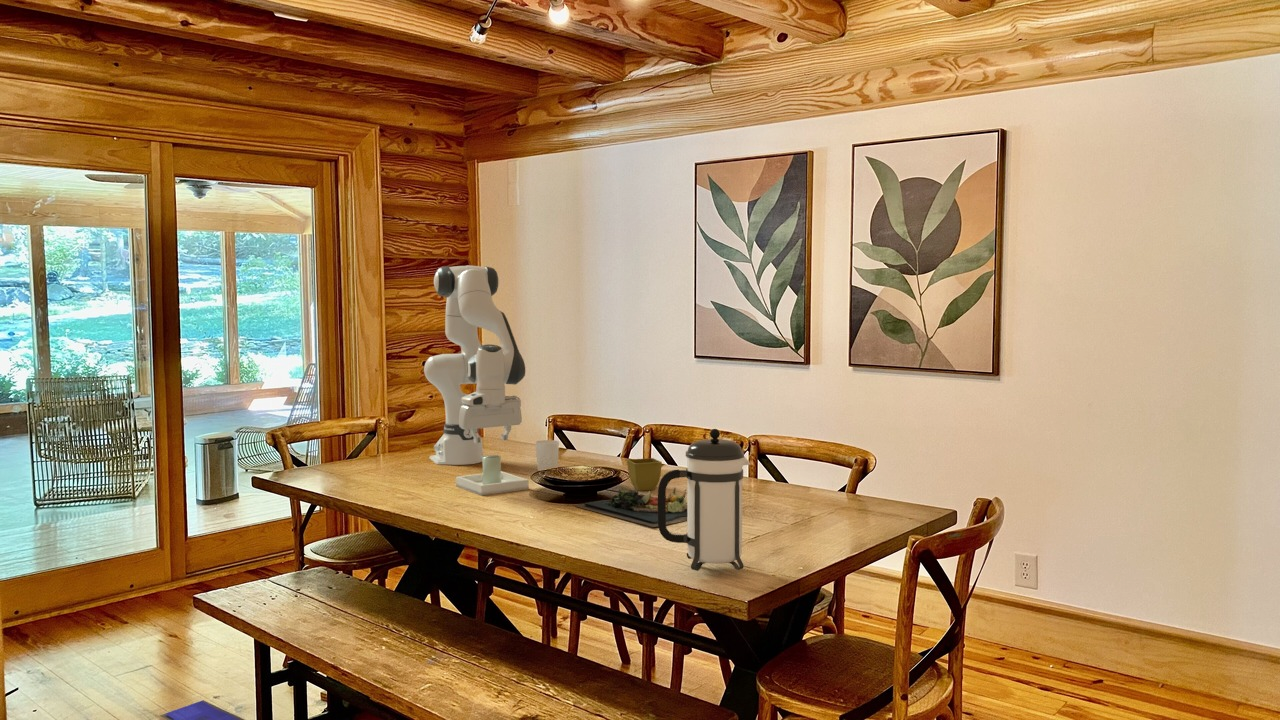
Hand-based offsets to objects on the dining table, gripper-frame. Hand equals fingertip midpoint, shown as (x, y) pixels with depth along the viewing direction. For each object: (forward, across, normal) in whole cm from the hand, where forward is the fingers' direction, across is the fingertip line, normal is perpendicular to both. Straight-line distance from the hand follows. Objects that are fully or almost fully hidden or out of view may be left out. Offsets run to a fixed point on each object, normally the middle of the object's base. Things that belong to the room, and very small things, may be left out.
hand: (491, 441), depth 293 cm
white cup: (+15, -29, -15) cm, 36 cm away
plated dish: (+15, -23, +52) cm, 59 cm away
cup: (+14, 0, +1) cm, 14 cm away
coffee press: (+12, 0, +107) cm, 107 cm away
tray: (+14, 0, +1) cm, 15 cm away
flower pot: (+14, -37, +31) cm, 50 cm away
